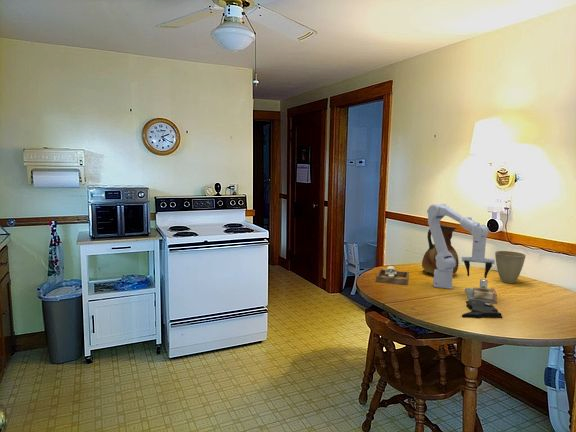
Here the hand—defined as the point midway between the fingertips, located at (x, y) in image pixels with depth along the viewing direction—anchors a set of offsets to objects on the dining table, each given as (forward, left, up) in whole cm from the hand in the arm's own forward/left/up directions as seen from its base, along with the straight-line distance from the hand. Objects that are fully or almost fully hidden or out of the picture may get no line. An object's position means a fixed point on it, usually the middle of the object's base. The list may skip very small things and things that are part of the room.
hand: (476, 276), depth 197 cm
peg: (+4, +4, -8) cm, 10 cm away
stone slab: (-1, -23, -10) cm, 25 cm away
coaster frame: (-41, +13, -9) cm, 44 cm away
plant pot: (+20, +34, -10) cm, 41 cm away
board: (+2, -1, -9) cm, 10 cm away
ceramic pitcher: (-16, +36, -10) cm, 41 cm away
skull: (-42, +12, -10) cm, 45 cm away
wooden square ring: (+3, -5, -8) cm, 10 cm away
